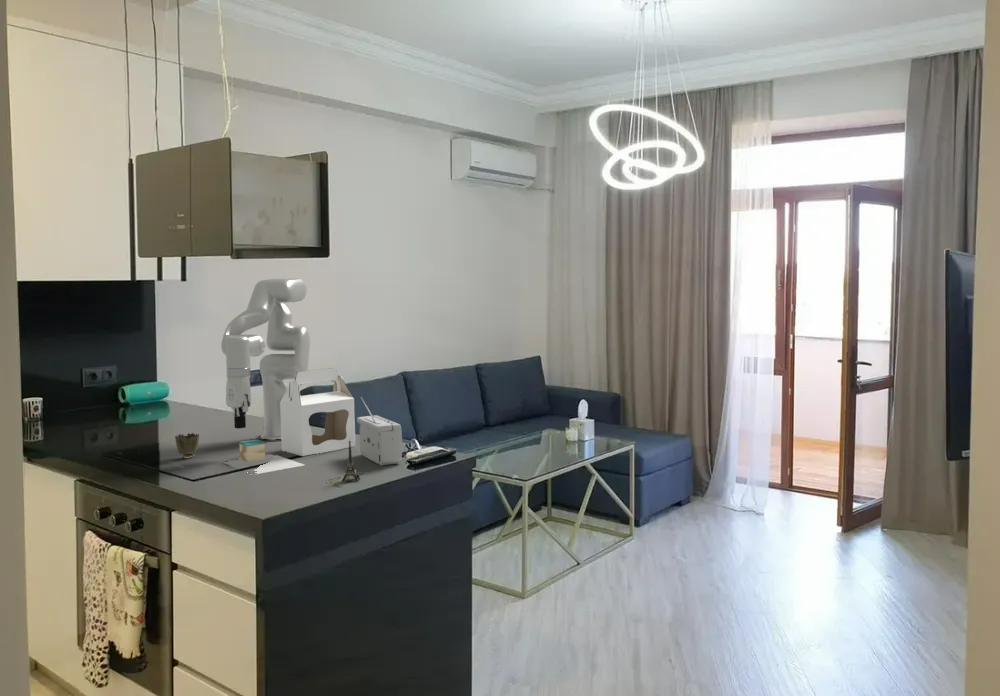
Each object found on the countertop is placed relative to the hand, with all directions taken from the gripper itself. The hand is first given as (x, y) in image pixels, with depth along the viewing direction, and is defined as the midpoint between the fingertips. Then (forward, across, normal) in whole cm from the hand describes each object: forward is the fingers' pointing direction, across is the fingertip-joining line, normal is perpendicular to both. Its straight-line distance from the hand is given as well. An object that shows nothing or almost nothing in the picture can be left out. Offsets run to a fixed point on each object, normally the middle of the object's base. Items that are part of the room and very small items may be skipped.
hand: (240, 427), depth 267 cm
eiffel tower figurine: (+12, +52, +11) cm, 54 cm away
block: (+10, +7, +1) cm, 12 cm away
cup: (+10, -12, -13) cm, 21 cm away
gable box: (+10, +6, +26) cm, 28 cm away
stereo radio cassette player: (+10, +35, +32) cm, 49 cm away
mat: (+10, +14, +1) cm, 18 cm away
